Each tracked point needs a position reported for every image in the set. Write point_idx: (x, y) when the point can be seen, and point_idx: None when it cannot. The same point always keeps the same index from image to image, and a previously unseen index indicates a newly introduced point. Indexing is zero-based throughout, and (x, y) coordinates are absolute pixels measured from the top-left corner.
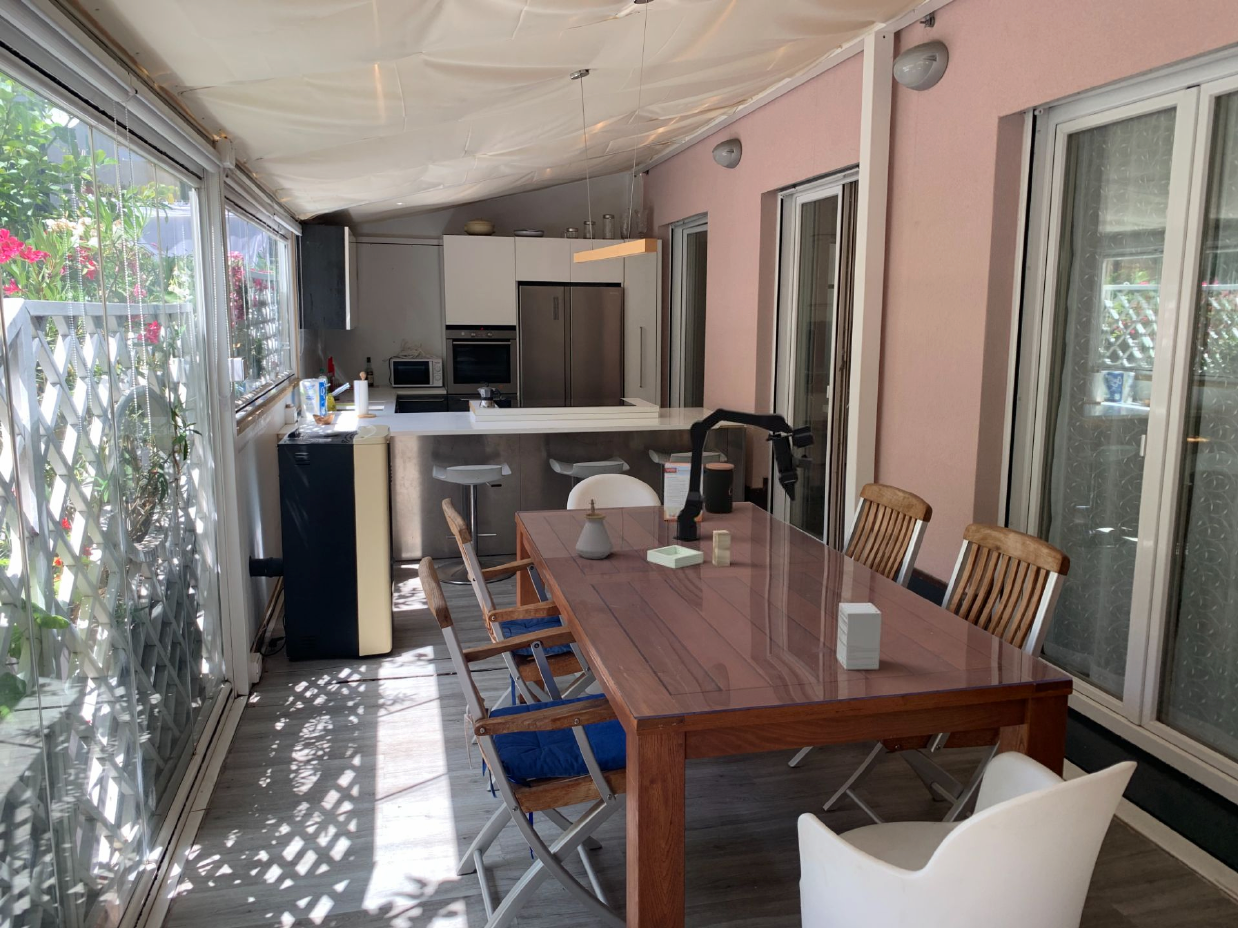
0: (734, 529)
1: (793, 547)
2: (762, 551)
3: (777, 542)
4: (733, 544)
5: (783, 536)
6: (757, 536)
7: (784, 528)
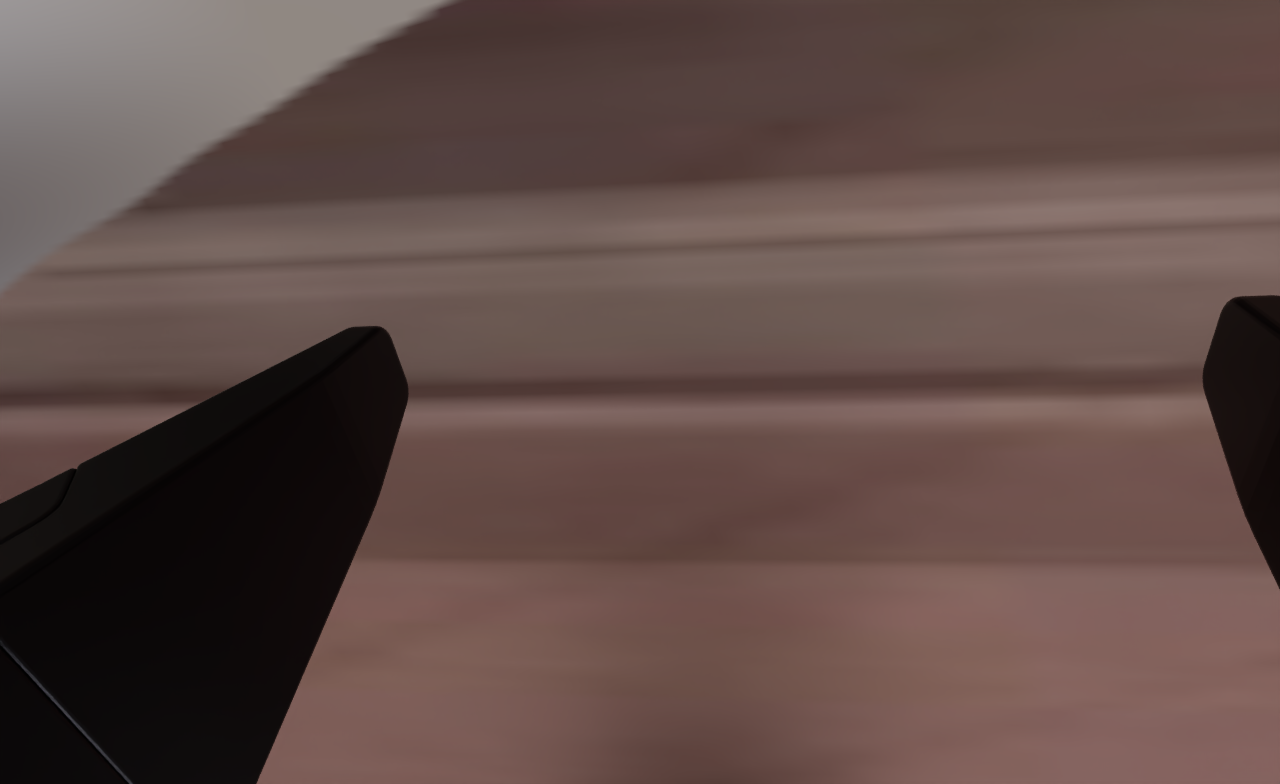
0: (357, 679)
1: (949, 127)
2: (1209, 459)
3: (739, 318)
4: (932, 700)
5: (443, 266)
6: (540, 508)
7: (101, 270)
